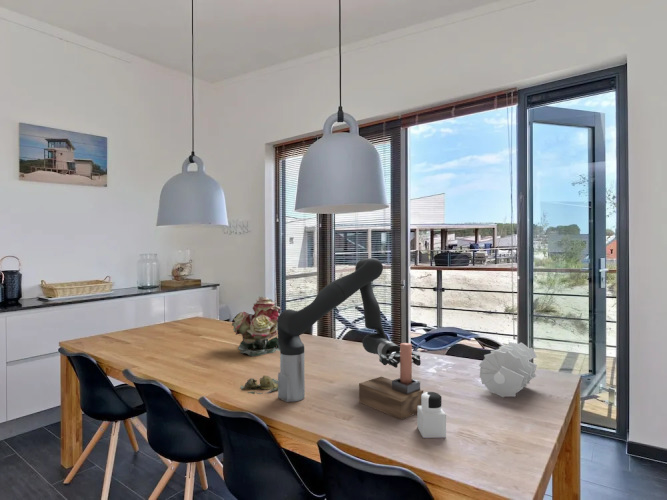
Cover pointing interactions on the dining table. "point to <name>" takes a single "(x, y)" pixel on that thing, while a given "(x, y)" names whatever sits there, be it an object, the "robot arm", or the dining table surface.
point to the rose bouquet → (258, 328)
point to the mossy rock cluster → (261, 384)
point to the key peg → (406, 363)
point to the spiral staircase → (508, 369)
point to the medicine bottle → (431, 416)
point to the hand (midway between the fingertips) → (408, 363)
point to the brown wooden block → (391, 396)
